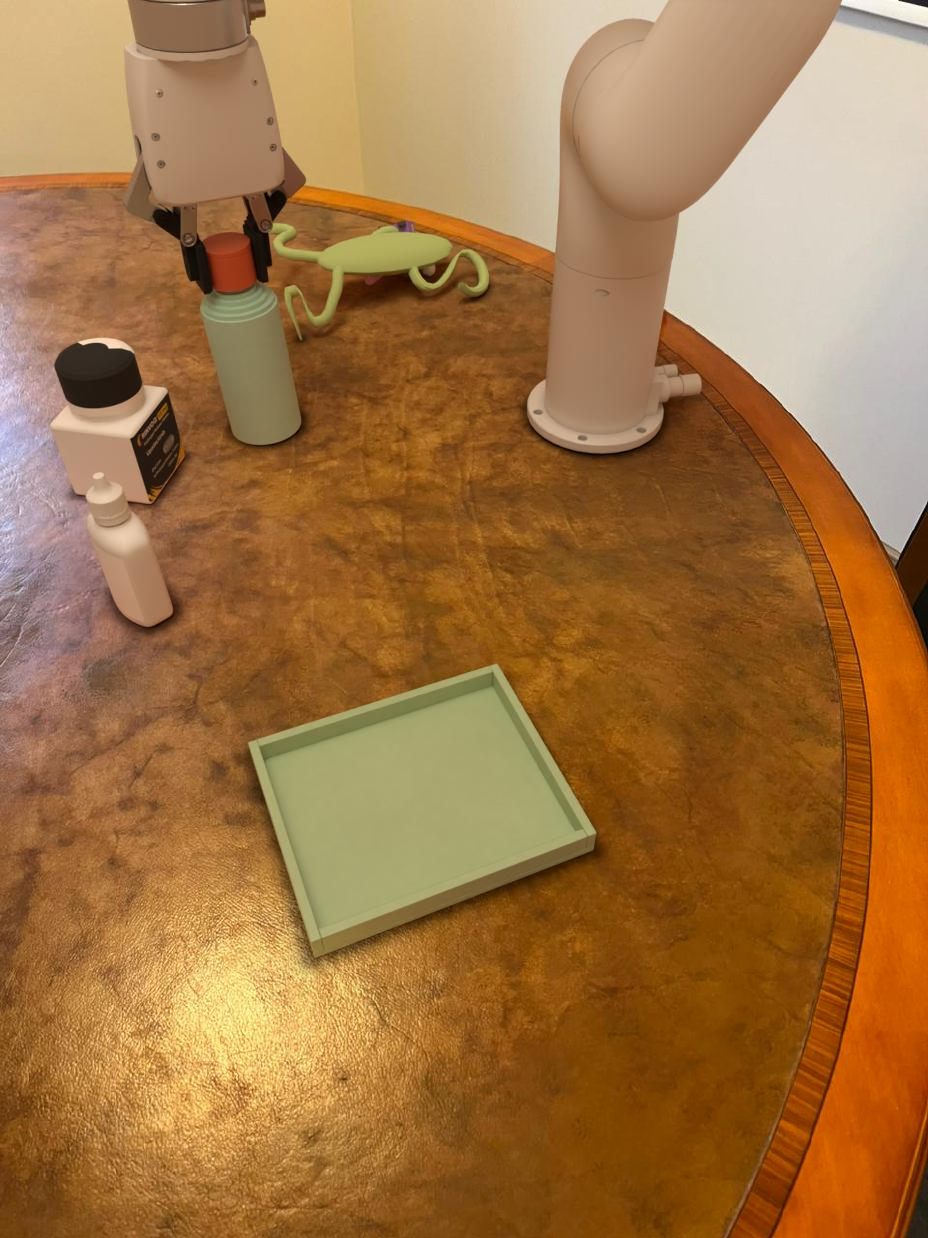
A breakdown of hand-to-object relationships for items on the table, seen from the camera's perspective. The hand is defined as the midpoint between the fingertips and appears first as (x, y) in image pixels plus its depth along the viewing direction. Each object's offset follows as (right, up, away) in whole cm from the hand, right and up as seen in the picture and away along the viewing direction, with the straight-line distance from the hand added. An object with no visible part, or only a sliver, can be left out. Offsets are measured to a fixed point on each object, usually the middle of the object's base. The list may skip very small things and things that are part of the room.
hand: (231, 279), depth 76 cm
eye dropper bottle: (-5, -27, -6) cm, 28 cm away
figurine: (+7, +9, +29) cm, 31 cm away
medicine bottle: (-10, -15, +5) cm, 19 cm away
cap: (0, 0, 0) cm, 0 cm away
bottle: (+1, -10, +10) cm, 14 cm away
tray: (+16, -39, -18) cm, 46 cm away
